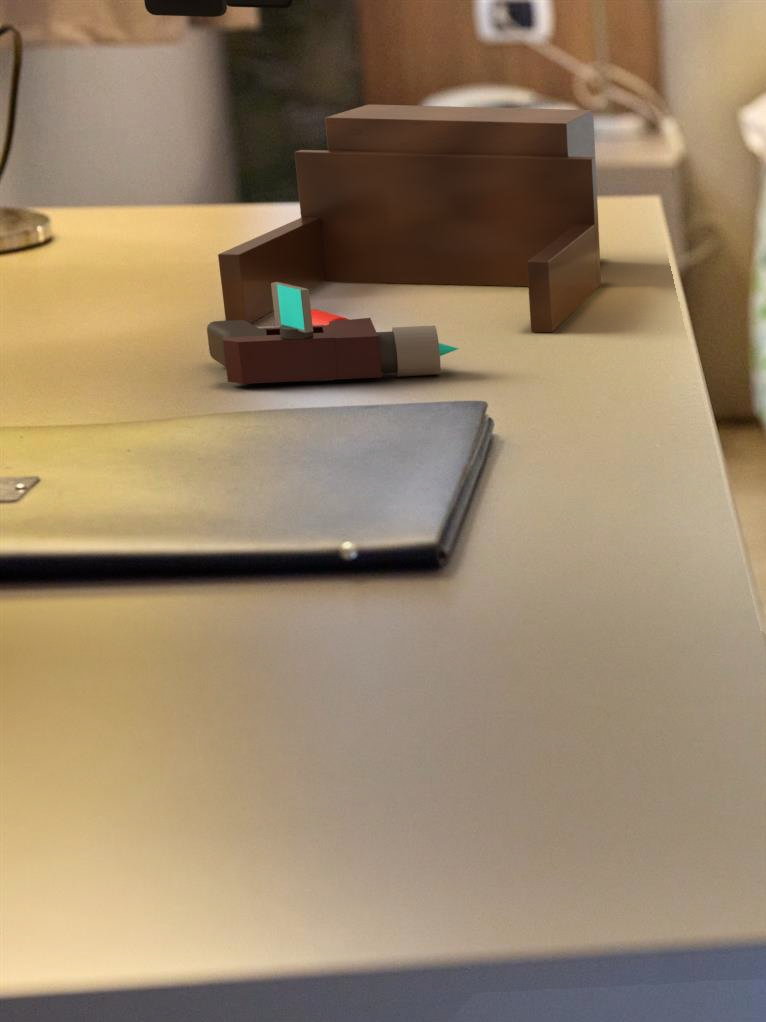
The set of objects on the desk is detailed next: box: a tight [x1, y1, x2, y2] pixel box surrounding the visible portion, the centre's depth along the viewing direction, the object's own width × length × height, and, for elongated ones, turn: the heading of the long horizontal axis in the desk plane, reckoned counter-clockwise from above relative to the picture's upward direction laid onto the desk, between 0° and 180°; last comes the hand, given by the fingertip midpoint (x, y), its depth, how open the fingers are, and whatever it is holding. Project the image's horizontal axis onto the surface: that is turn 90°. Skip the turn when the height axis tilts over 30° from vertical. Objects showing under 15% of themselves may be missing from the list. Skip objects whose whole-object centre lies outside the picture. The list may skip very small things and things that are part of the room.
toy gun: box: [206, 282, 460, 385], centre depth 100 cm, size 10×12×5 cm
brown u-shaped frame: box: [217, 104, 602, 333], centre depth 120 cm, size 18×25×10 cm
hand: (225, 9), depth 86 cm, fingers open, 8 cm apart
